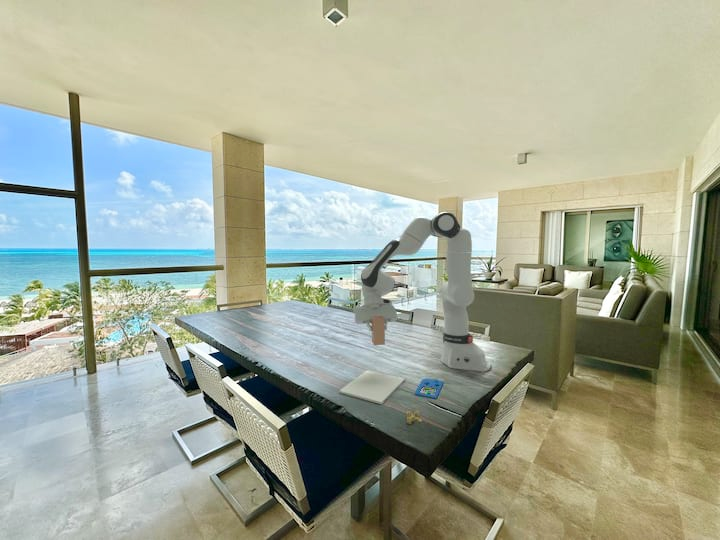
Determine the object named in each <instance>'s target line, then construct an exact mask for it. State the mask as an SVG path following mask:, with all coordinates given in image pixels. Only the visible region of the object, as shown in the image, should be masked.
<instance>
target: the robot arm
mask: <svg viewBox="0 0 720 540" xmlns="http://www.w3.org/2000/svg"><path fill="white" fill-rule="evenodd" d="M430 236H432V237H434V238H435V237H436V238H445V240H446V243H447V244H446V245H447V249H446V263H445V270H446V275H447V276H446V277H447V281H445V282H444V283H442V286H441V287H440V293H441V301H442V309H443V318H444V319H443V321H444V322H443V326H444V327H443V333H442V342H443V346H442V347H443V348H442V354H441V356H440V362H441V363H442V364H444V365H446V366H447V367H448V368H450V369H456V370H464V371H465V370H466V371H472V372H473V371H474V372H482V373H485V372H488V371H489V370H490V369H491V367H492V364H491V361H490V360H489V359H487V358H486V354H485V352H484V350H483V348H481V347H479V346H478V345H477V344H476V343H475V342H474V335H473V334H470V333H469V314H468V312H467V307H468V306H470V305H471V304H472V303H473V302H474V300H475V292H474V289H473V281H472V280H473V278H472V271H471V268H472V267H471V265H472V250H473V245H472V243H473V242H472V233H471V232H470V231H469V230H468V229H466V228H462V227H461V225H460V224H459V221H458V219H457V218H456V216H455V215H454V214H453V213H451V212H449V211H443V212H439V213H437V214H436V215H435V216H434V217H433V218H431V219H429V218H427V217H424V216H419V215H418V216H417V217H414V218H413V220H412V221H411V222H410V223H409V224H408V225H407V227H406V228H405V230H404V231H403V232H402V234H401V235H400V236H399V237H398V238H396V239H392V240H391V241H389V242H388V243H387V244H386V245H385V246H384V247H383V248H382V250H381V251H380V252H379V253H378V254H377V255H376V257H375V258H374V259H373V260H372V261H371V262H370V263H369V264H368V265H366V267H365V268H363V269H362V271H361V273H360V280H361V293H362V296H363V304H364V305H355V306H354V307H353V308H352V313H353V314H354V323H355V324H356V325H361V324H362V325H366V327H367V328H368V330H369V332H372V331H373V326H372V321H371V320H372V317H376V316H382V317H383V318H384V324H385V331H387V329H388V327H387V326H388V323H393V322H396V321H397V320H398V314H397V309H396V308H395V305H393V300H391V299H387V298H383V297H384V296H386V295H388V294H390V293H392V292H393V290H394V289H395V286H396V280H395V278H394V277H393V276H392V275H391V274H389V273H387V272H385V271H383V270H382V269H383V268H384V267H385V265H386V264H387V263H388V262H389V261H390V260H391V259H392V258H393V257H395V256H401V255H402V256H413V255H415V254H417V253H418V252H420V249H421V248H422V247H423V245H424V244H425V243H426V241H427V239H428V238H429V237H430Z"/></svg>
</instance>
